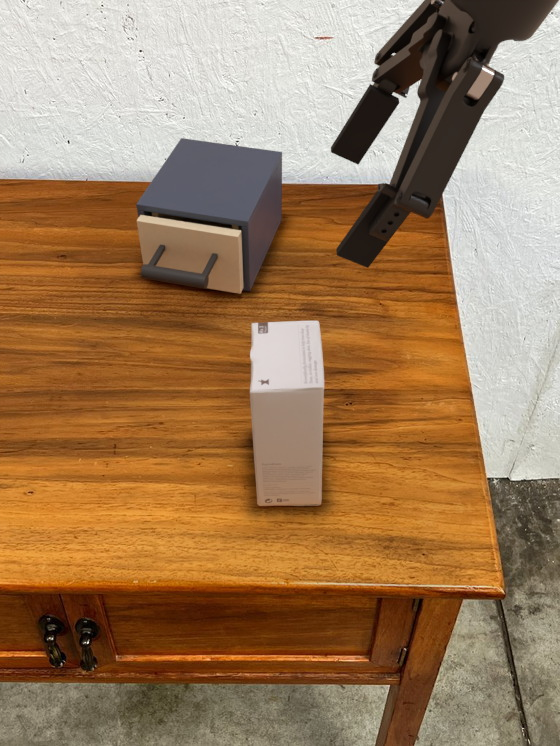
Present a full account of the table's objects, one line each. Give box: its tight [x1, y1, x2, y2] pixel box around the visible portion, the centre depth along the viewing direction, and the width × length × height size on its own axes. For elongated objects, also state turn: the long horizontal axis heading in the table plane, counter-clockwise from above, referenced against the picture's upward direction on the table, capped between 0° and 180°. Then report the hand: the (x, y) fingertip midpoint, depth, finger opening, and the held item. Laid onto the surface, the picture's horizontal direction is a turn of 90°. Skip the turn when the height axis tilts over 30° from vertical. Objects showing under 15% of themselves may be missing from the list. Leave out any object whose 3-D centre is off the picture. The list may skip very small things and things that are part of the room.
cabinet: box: [136, 137, 283, 292], centre depth 91 cm, size 15×13×10 cm
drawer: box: [136, 212, 244, 295], centre depth 88 cm, size 19×11×8 cm, turn 166°
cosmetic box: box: [249, 320, 325, 507], centre depth 66 cm, size 8×6×15 cm
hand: (347, 204), depth 63 cm, fingers open, 13 cm apart
